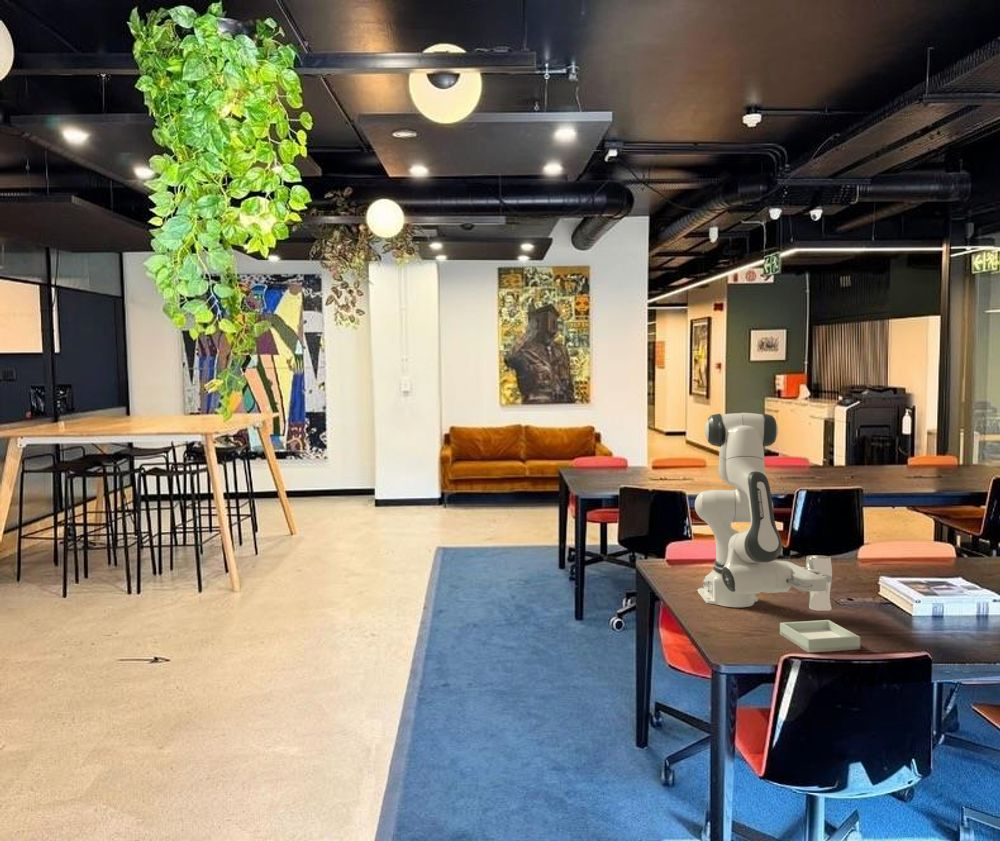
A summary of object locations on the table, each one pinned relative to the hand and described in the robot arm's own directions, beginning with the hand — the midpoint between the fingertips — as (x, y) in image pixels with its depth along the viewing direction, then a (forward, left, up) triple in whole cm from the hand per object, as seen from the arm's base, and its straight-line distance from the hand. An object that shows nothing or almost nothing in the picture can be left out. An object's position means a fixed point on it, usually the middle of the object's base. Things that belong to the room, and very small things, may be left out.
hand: (822, 574), depth 210 cm
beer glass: (+1, -1, -10) cm, 10 cm away
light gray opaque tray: (0, -1, -20) cm, 20 cm away
